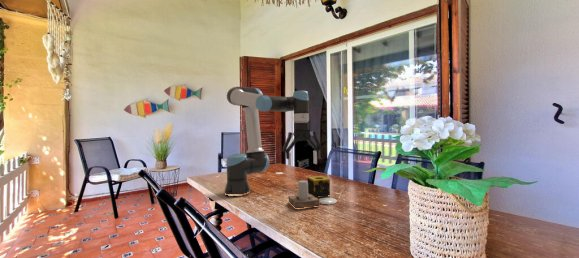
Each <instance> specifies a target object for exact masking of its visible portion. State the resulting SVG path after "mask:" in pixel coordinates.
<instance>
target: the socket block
mask: <svg viewBox="0 0 579 258" xmlns="http://www.w3.org/2000/svg"><path fill="white" fill-rule="evenodd" d="M319 199H320V198H316V197H314V196H313V195H311V194H308V200H299V194H297V195H288V203H289V202H290V203H291V204H292V205H293V206H294V207H295V208H304V207H314V206H319V207H320V204H319ZM294 207H293V208H294ZM295 208H294V209H295Z"/></svg>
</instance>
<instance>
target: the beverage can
mask: <svg viewBox="0 0 579 258" xmlns="http://www.w3.org/2000/svg"><path fill="white" fill-rule="evenodd" d="M297 186H298V195H299V200H308V181H307V179H306V180H304V179H303V180H298V185H297Z"/></svg>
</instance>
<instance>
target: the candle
mask: <svg viewBox="0 0 579 258" xmlns="http://www.w3.org/2000/svg"><path fill="white" fill-rule="evenodd" d="M306 181H308V193H309V194H311V195H313V196H314V197H318V196H328V195H330V196H331V188H330V186H331V178H328V177H327V176H324V175H316V176H315V175H314V176H307V179H306Z"/></svg>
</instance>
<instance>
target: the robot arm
mask: <svg viewBox="0 0 579 258" xmlns="http://www.w3.org/2000/svg"><path fill="white" fill-rule="evenodd" d="M226 99H227V101H228V103H229V104H231V105H232V106H233V105H234V106H239V107H240V106H241V110H242V111H244V118H245V128H246V139H247V140H246V141H247V151H246V152H245V153H242V152H241V153H235V154H231V155H229V156H228V157H227V158H226V163H225V165H226V184H225V188H224V191H223V192H225V193H226V194H244V193H247V192H249V191H250V192H251V187H250V185H249V181H248V175H253V174H257V173H258V174H260V173H264V172H266V171H267V170H268V168H269V167H270V157H269V155H268V154H267V153H265V150H264V148H263V147H262V146H263V145H262V137H261V136H262V135H261V126H260V114H259V112H283V113H286V112H293V121H294V123H293V130H294V131H293V132H290V131H289V132H288V133H287V138H286V140H285V142H284V145H283V147H282V149H281V150H282V152H285V158H286V160H287V166H288V167H291V166H292V153H291V151H292V149H293V148H294V146H295V145H296V143H298V141H299V142H303V141H306V142H307V143H308V145H310V146H311V147H312V148H313V149H314V150H313V151H312V153H313V164H315V165H318V158H319V151H320V150H322V149H323V147H322V146H321V145H322V144H321V143H320V141H319V139H318V138H317V135H316V134H317V133H316V131H310V122H309V121H310V113H309V112H310V110H309V109H310V108H309V92H308V91H306V90H295V91H293V95H292V96H277V95H266V94H263V92H262V91H261V90H260V88H257V87H249V86H234V87H231V88H229V90H228V91H227V93H226ZM293 136H294V138H293V140H292V142H291V139H292V137H293ZM310 136H311V138H312V139H311V138H310ZM312 140H313V141H314V142H313V141H312ZM225 193H224V194H225Z"/></svg>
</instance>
